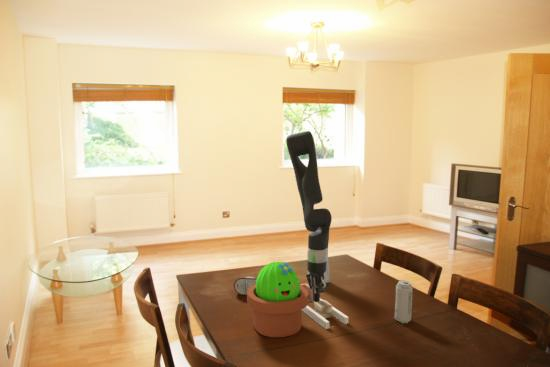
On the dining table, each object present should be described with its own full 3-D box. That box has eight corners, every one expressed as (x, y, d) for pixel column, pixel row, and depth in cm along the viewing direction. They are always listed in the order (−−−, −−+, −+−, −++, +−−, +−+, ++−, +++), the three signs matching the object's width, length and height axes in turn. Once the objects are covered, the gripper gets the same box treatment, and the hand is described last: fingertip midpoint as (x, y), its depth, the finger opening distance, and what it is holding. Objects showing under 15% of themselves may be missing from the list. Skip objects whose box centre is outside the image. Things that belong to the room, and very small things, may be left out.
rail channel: (306, 294, 188) (306, 283, 188) (348, 323, 161) (348, 310, 160) (286, 298, 184) (286, 286, 183) (325, 329, 156) (326, 316, 156)
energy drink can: (396, 315, 168) (398, 278, 165) (412, 319, 165) (414, 281, 163) (392, 322, 162) (394, 283, 160) (409, 325, 159) (411, 286, 157)
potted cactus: (240, 318, 165) (239, 255, 161) (293, 310, 172) (293, 249, 169) (258, 346, 144) (258, 274, 141) (317, 335, 152) (318, 267, 149)
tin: (268, 294, 188) (268, 275, 187) (267, 297, 185) (267, 278, 184) (234, 292, 190) (234, 274, 189) (233, 295, 187) (233, 276, 186)
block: (324, 312, 171) (324, 300, 170) (331, 317, 166) (331, 304, 166) (313, 314, 169) (313, 302, 168) (320, 319, 164) (320, 307, 164)
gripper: (334, 262, 164) (333, 305, 167) (316, 253, 176) (315, 293, 178) (317, 265, 161) (316, 309, 163) (300, 255, 173) (299, 296, 175)
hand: (316, 301), depth 171 cm, fingers closed
